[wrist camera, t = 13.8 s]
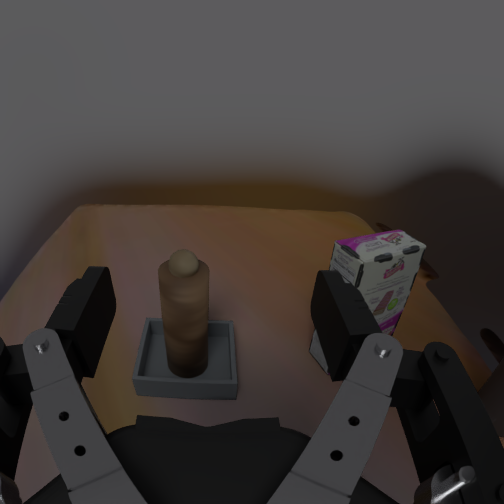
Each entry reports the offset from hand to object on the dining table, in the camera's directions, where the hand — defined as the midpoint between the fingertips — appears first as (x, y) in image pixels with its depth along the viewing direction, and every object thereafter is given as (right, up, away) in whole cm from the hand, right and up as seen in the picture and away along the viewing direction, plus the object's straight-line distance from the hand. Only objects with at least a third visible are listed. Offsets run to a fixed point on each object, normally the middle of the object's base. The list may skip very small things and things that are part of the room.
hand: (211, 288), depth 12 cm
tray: (-6, -12, +24) cm, 28 cm away
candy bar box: (+14, -12, +28) cm, 34 cm away
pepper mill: (-6, -12, +24) cm, 27 cm away
